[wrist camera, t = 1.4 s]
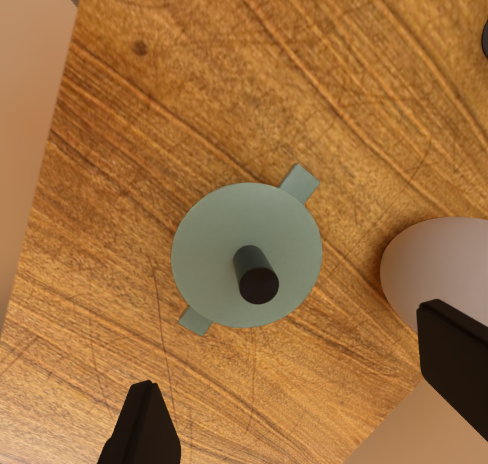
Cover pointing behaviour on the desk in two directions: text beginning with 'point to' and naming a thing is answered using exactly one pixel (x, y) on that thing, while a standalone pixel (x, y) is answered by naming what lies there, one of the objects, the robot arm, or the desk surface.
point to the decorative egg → (438, 267)
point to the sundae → (485, 39)
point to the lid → (246, 255)
